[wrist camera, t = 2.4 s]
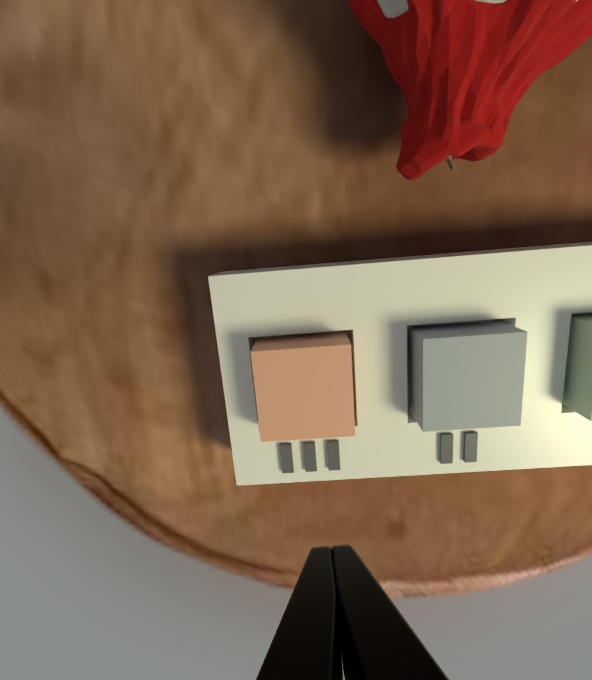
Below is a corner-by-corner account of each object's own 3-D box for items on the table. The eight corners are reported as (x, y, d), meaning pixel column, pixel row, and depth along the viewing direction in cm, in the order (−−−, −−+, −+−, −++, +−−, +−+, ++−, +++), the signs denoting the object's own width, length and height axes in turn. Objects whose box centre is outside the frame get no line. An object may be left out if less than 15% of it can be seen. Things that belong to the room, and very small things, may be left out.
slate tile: (501, 321, 18) (527, 331, 16) (496, 405, 19) (520, 425, 17) (409, 328, 18) (423, 339, 16) (409, 411, 19) (423, 431, 17)
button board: (667, 235, 19) (737, 233, 16) (636, 430, 22) (691, 461, 19) (221, 271, 20) (206, 276, 17) (245, 454, 23) (236, 487, 20)
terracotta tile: (345, 332, 18) (351, 344, 16) (349, 415, 20) (355, 435, 17) (256, 339, 19) (250, 351, 16) (265, 420, 20) (260, 442, 18)
